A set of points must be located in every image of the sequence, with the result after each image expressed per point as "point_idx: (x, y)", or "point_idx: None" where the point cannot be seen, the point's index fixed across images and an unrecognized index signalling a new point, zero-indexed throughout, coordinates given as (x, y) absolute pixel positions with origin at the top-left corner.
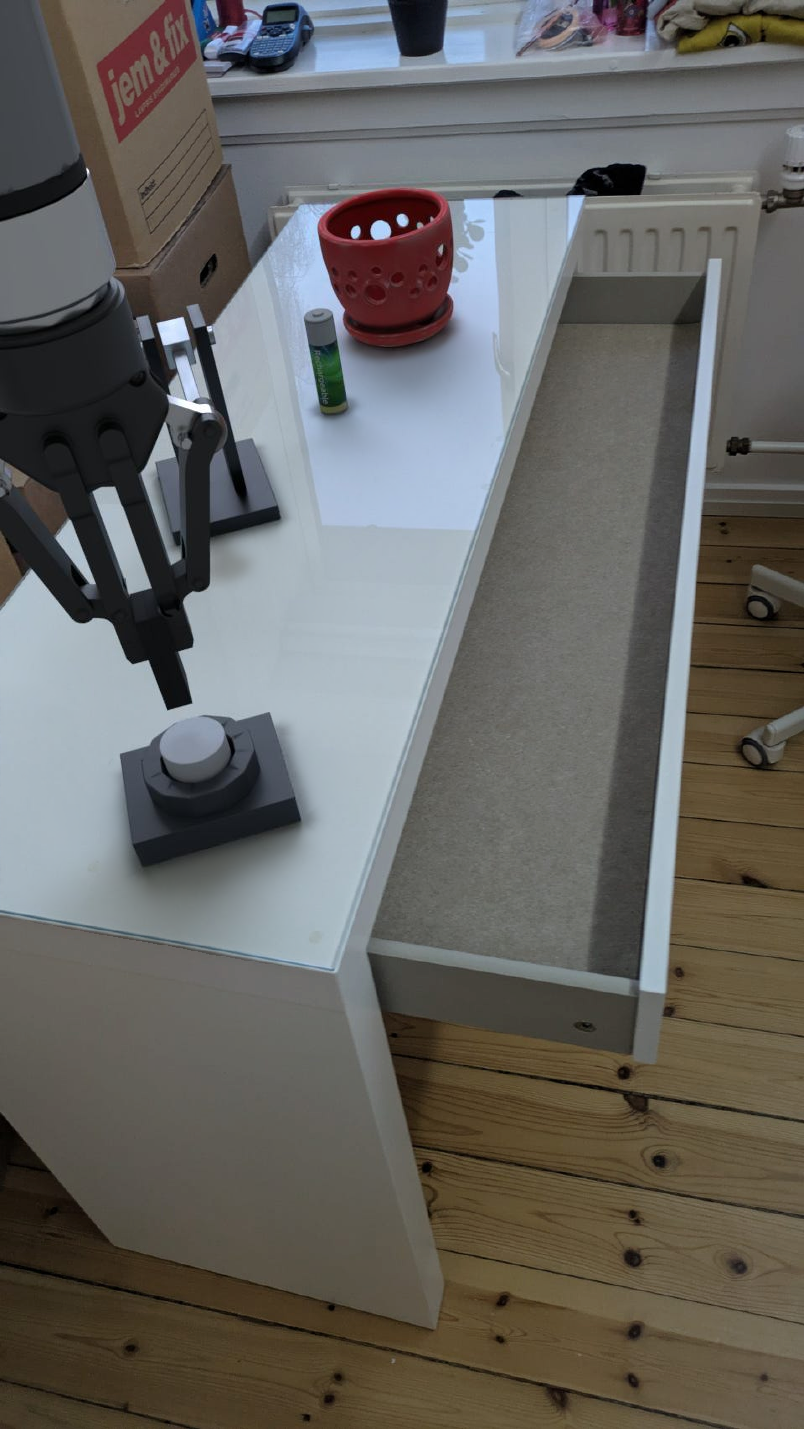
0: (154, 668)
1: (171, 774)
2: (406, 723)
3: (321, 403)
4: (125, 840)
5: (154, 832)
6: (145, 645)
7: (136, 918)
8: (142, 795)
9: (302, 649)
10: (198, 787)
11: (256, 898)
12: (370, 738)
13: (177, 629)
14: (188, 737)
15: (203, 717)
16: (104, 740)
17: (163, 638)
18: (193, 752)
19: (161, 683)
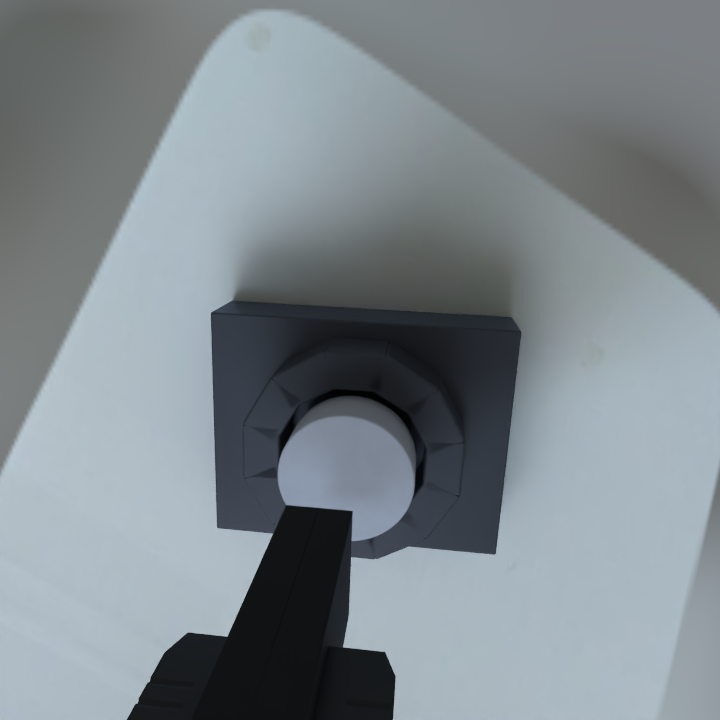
0: (322, 607)
1: (410, 436)
2: (29, 427)
3: None
4: (527, 389)
5: (474, 343)
6: (303, 685)
7: (547, 210)
8: (476, 440)
9: (159, 652)
10: (365, 377)
11: (338, 166)
12: (90, 423)
13: (180, 706)
14: (350, 489)
15: None
16: (512, 616)
17: (229, 684)
18: (348, 444)
19: (328, 565)
